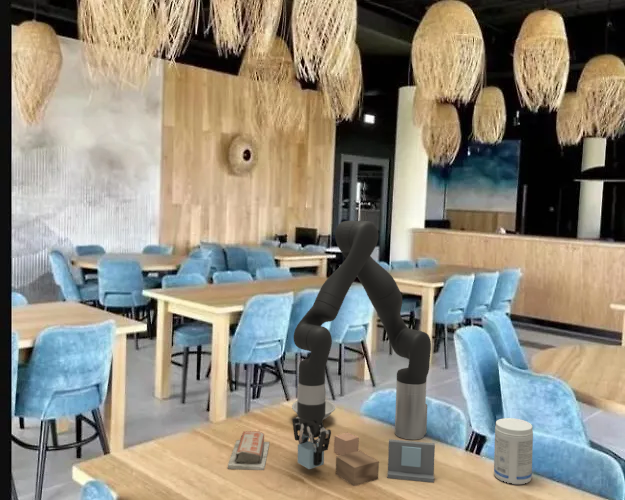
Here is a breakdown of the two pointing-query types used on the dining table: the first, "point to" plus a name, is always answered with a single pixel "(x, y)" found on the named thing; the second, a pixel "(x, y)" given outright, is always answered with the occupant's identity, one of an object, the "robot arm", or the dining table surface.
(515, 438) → the supplement tub
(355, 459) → the walnut block
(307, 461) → the blue block
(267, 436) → the dining table surface
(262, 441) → the packaged product
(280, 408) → the dining table surface
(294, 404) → the dish
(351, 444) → the terracotta block
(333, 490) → the dining table surface
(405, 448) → the display stand
